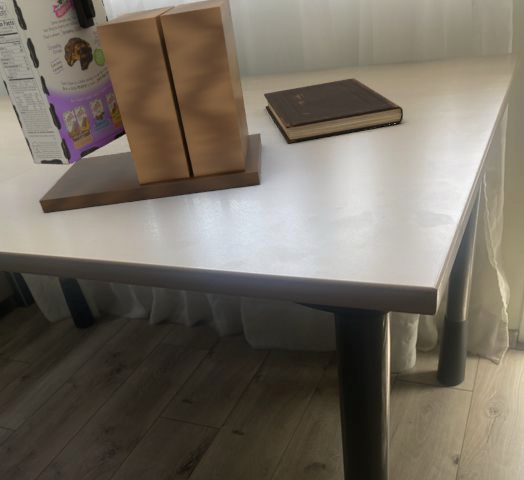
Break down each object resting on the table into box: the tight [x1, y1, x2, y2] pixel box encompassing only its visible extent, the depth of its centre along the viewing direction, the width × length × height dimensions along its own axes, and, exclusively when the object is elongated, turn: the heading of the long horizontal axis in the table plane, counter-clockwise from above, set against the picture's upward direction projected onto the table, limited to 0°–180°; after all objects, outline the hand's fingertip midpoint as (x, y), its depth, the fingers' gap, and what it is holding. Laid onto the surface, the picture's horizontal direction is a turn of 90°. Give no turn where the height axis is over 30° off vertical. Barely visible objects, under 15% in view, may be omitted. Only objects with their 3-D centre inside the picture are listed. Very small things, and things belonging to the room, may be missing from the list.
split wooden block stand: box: [38, 0, 262, 213], centre depth 63 cm, size 26×16×18 cm, turn 89°
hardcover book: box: [263, 77, 404, 144], centre depth 81 cm, size 16×23×2 cm
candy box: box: [0, 0, 126, 166], centre depth 61 cm, size 14×6×16 cm, turn 156°
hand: (51, 31), depth 59 cm, fingers closed on candy box, 7 cm apart
